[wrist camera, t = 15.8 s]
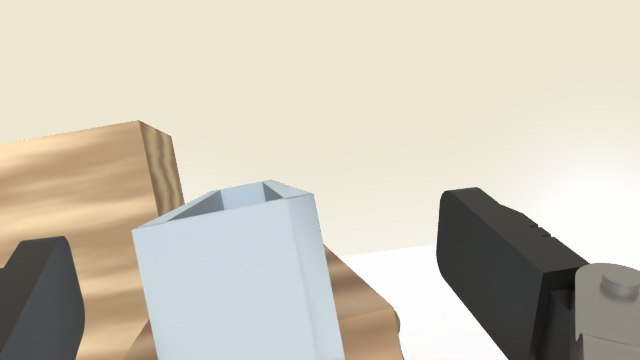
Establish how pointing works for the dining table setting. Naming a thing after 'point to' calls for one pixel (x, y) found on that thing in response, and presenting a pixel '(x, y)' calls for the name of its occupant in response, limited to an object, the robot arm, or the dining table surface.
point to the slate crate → (239, 277)
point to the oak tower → (92, 216)
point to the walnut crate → (352, 313)
